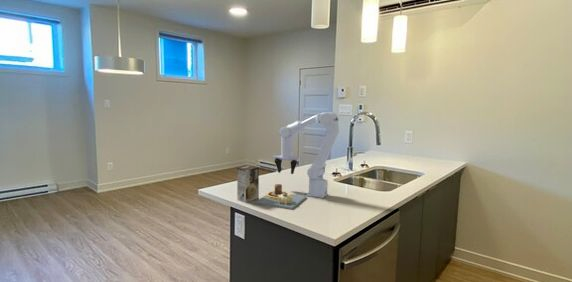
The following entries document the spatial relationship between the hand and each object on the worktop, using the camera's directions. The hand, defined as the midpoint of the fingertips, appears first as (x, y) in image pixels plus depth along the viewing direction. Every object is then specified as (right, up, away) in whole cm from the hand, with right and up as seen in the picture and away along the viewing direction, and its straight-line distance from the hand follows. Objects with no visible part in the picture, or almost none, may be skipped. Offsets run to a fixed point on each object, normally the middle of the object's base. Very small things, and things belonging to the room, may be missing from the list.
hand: (285, 173), depth 172 cm
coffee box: (-19, -11, -17) cm, 28 cm away
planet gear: (-4, -10, -14) cm, 18 cm away
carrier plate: (-2, -12, -18) cm, 22 cm away
